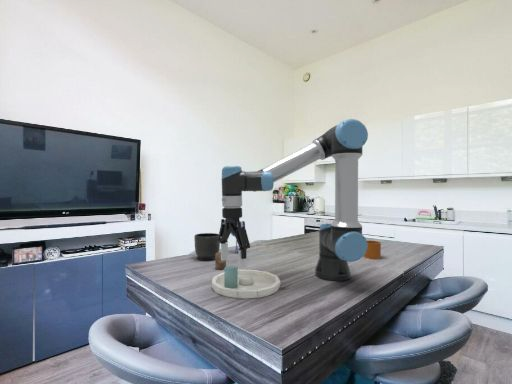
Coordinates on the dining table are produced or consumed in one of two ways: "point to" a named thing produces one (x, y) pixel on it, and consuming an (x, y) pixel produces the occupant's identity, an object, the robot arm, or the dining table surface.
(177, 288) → the dining table surface
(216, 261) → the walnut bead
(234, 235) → the baby rattle
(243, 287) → the round cream tray
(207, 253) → the planter
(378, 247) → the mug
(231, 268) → the teal cylinder
